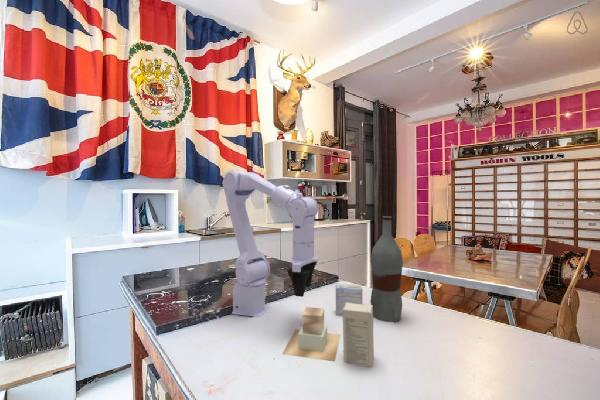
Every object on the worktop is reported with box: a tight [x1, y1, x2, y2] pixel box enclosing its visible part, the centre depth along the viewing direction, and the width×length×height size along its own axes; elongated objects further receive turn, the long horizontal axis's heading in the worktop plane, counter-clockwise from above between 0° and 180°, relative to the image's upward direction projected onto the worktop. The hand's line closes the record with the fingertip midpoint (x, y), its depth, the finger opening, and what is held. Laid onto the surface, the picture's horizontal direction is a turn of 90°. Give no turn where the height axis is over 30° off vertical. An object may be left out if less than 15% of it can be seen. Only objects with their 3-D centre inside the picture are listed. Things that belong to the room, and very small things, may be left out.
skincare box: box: [342, 303, 375, 368], centre depth 64 cm, size 6×4×12 cm
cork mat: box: [282, 328, 341, 362], centre depth 71 cm, size 12×12×1 cm
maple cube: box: [302, 306, 325, 335], centre depth 71 cm, size 4×4×4 cm
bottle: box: [370, 215, 404, 323], centre depth 86 cm, size 9×9×30 cm
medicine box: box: [335, 283, 364, 317], centre depth 88 cm, size 8×4×9 cm, turn 84°
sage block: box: [298, 324, 328, 352], centre depth 71 cm, size 6×6×4 cm
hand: (302, 290), depth 80 cm, fingers open, 7 cm apart
